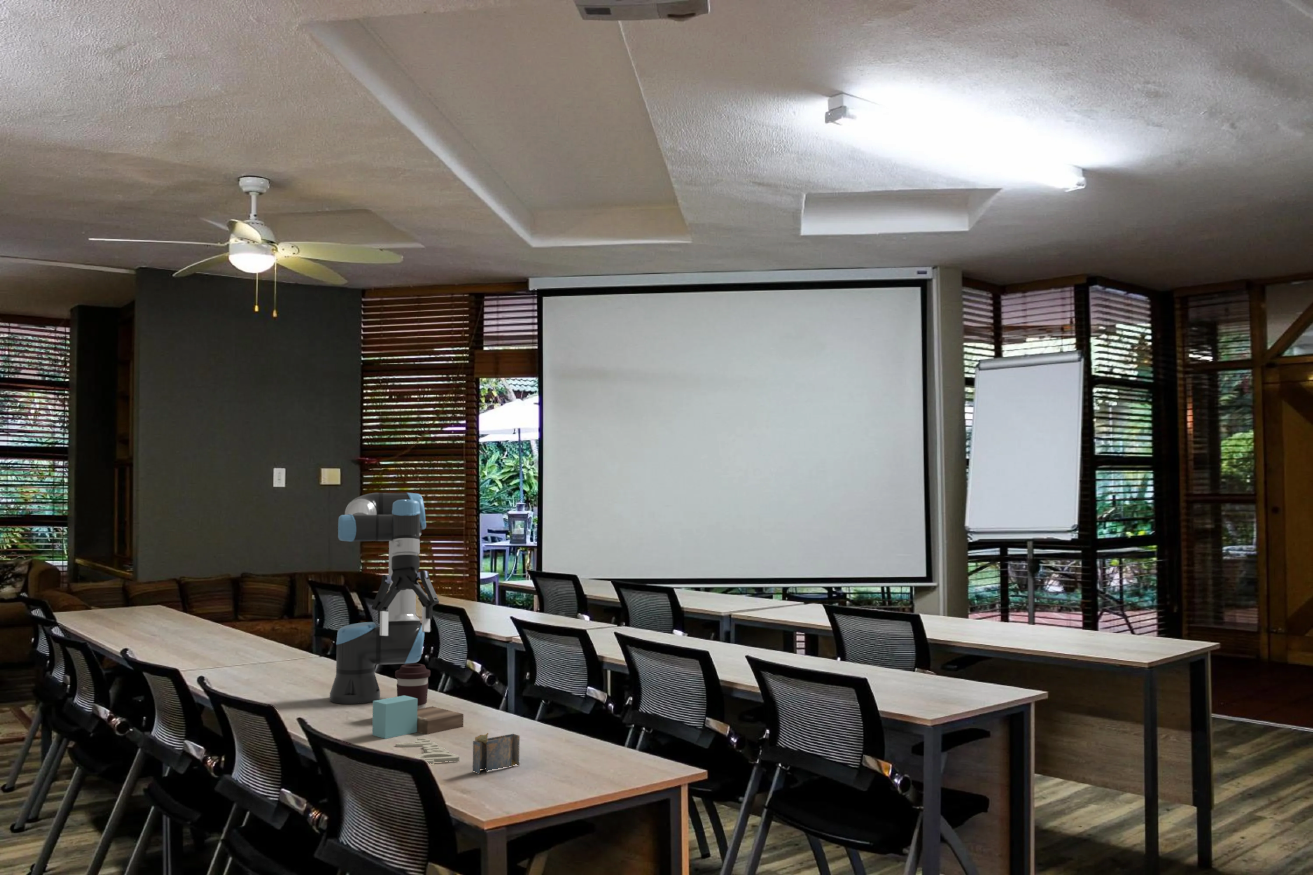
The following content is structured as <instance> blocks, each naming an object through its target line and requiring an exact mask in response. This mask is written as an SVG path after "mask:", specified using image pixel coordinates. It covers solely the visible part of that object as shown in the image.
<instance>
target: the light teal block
mask: <svg viewBox="0 0 1313 875" xmlns="http://www.w3.org/2000/svg"><path fill="white" fill-rule="evenodd" d="M417 702H418V699H417V698H413V697H409V696H405V695H404V696H398V697H397V696H394V697H387V698H383V699H381V698H380V699H378V700H375V701H372V729H371V730H372V732H371V733H372V736H374V737H378V738H381V739H386V740H387V739H391V738H395V737H401V736H405V735H410V734H414V733H418V732H417Z"/></svg>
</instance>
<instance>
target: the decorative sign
mask: <svg viewBox="0 0 1313 875" xmlns="http://www.w3.org/2000/svg"><path fill="white" fill-rule="evenodd" d="M438 745H439V744H438V743H437V742H435V741H431V739H430V738H426V737H425V738H424V737H422V738H421V737H420V738H419V737H417V739H416V740H415V741H414V742H396V743H395V747H398V748H417V747H418V748H419V747H422V749H423V753H419V754H415V755H414V757H415V758H419V759H425V760H426V761H427V762H428V763H429V764H430V763H431V764H433V763H434V762H445V761H448V762H449V761H459V762H460V754H459V755H458V754H455V753H453V752H452V753H451V752H450V750H448V749H446V748H445V747H443V746H438ZM414 757H413V758H414Z"/></svg>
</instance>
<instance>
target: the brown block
mask: <svg viewBox="0 0 1313 875" xmlns="http://www.w3.org/2000/svg"><path fill="white" fill-rule="evenodd" d="M460 728H464V713H461V712H458V711H453V710H449V709H445V708H440V707H437V706H433V705H432V706H429V707H428V706H426V708H421V709H417V732H416V733H420V734H425V735H432V734H436V733H442V732H445V731H451V730H454V729H460Z"/></svg>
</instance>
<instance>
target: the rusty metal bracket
mask: <svg viewBox="0 0 1313 875" xmlns="http://www.w3.org/2000/svg"><path fill="white" fill-rule="evenodd" d="M488 736H489V732H487V733H485V734H480V735H478V736H475V737H474V740H473V741H472V772H473V771H475V772H477V773H480V772H481V771H480V769H485V768H486V770H485V772H486V771H488V770H492V769H498V768H503V767H509V766H513V765H515V764H517V765H519V766H520V740H521V739H520V738H521V737H520V735H519V734H517V733H510V734H504V735H503V734H502V735H499V736H493V737H488Z"/></svg>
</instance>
